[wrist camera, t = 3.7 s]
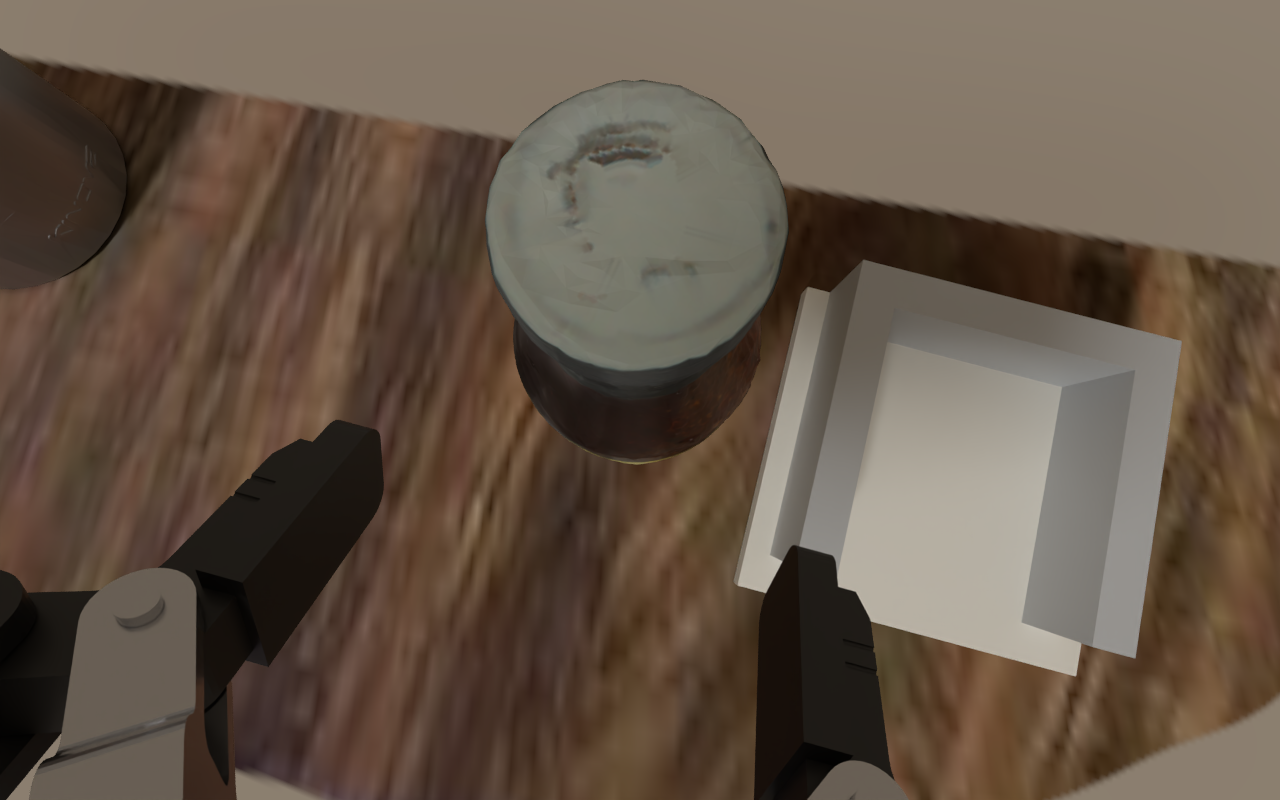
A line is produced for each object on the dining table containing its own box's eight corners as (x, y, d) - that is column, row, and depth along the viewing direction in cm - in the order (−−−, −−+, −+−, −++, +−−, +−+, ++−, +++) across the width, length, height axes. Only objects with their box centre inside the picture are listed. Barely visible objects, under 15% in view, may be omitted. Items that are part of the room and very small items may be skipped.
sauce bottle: (597, 304, 28) (522, -109, 9) (728, 356, 28) (953, 48, 9) (540, 440, 28) (313, 320, 8) (674, 494, 27) (786, 510, 8)
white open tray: (733, 581, 27) (756, 602, 22) (801, 293, 29) (837, 252, 24) (1059, 669, 27) (1157, 711, 22) (1107, 372, 28) (1208, 348, 23)
